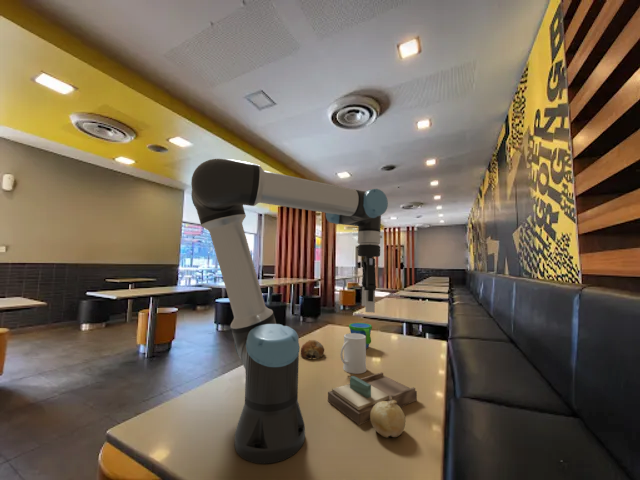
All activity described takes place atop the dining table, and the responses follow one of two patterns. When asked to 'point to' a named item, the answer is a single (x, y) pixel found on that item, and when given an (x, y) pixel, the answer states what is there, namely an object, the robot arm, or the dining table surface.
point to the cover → (360, 393)
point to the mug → (354, 353)
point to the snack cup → (362, 330)
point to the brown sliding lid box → (385, 385)
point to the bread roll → (312, 349)
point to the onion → (388, 418)
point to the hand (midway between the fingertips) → (367, 308)
